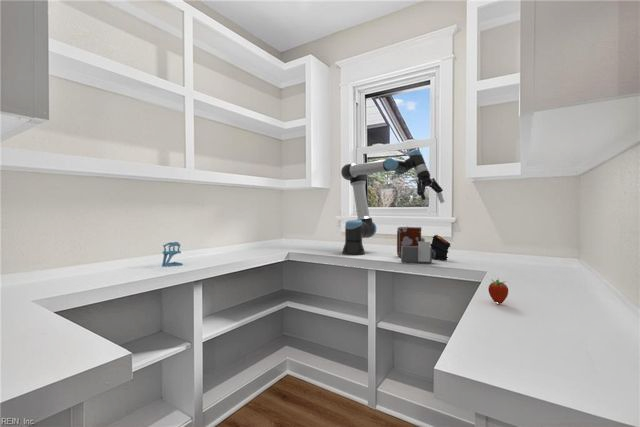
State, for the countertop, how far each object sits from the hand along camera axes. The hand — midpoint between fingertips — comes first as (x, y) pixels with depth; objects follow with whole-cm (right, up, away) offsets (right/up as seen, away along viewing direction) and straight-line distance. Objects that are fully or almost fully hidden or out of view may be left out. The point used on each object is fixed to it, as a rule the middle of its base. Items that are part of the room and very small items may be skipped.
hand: (435, 203), depth 189 cm
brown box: (-9, -35, +14) cm, 39 cm away
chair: (-147, -33, -29) cm, 153 cm away
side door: (-12, -33, -15) cm, 38 cm away
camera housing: (-13, -34, -9) cm, 38 cm away
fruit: (-15, -34, -92) cm, 100 cm away
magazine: (+4, -35, +3) cm, 35 cm away
